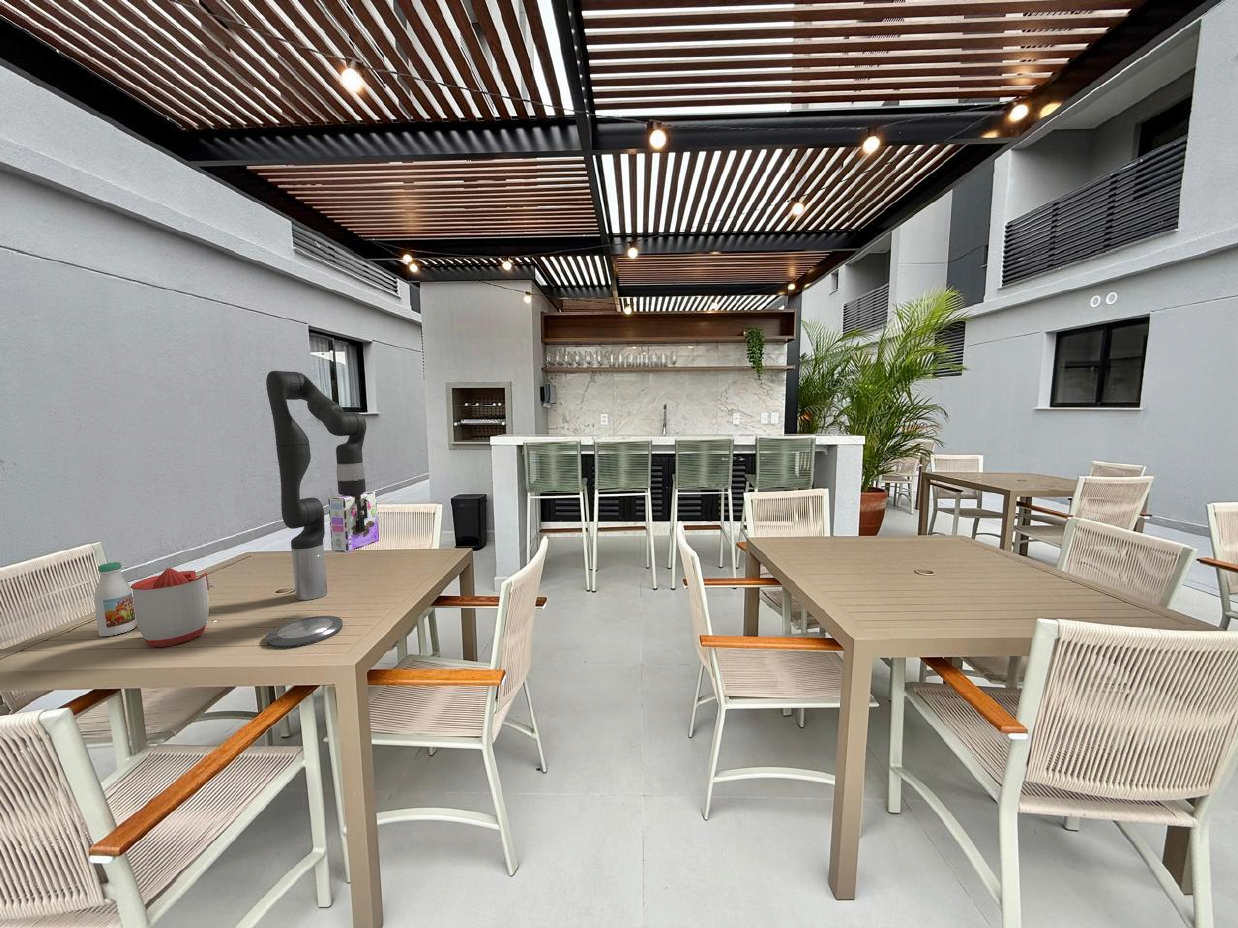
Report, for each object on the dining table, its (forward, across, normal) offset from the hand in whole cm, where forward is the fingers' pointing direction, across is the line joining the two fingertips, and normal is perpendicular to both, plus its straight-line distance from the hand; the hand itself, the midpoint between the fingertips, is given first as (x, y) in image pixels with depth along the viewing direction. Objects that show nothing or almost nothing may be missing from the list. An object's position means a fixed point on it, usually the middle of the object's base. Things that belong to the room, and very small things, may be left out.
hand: (355, 530), depth 155 cm
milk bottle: (+25, -39, -52) cm, 69 cm away
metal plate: (+25, +7, -18) cm, 31 cm away
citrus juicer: (+25, -19, -41) cm, 51 cm away
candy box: (+5, 0, 0) cm, 5 cm away
